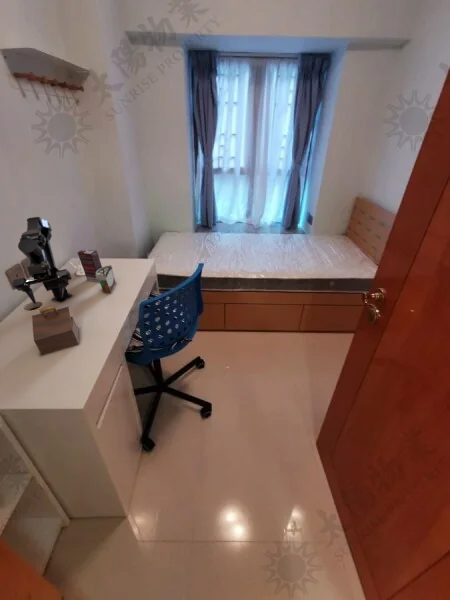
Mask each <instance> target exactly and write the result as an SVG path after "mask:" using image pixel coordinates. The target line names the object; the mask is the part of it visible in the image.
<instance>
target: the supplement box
mask: <svg viewBox="0 0 450 600" xmlns="http://www.w3.org/2000/svg"><path fill="white" fill-rule="evenodd" d="M76 253H77V256H79V257H78V260H79V259H80V261H81V264H82V267H83V269H84V272H85V275H84V276H85V277H86V280H87V281H91V282H97V283H100V282H99V280H98V279H97V278H96V271H97V270H98V269H100V268H102V267H103V266H102V262H101V260H100V259H101V258H100V256H99V253H98V249H97V250H96V249H86V248H83V249H81V250H79V251H77V252H76Z"/></svg>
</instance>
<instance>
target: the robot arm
mask: <svg viewBox="0 0 450 600" xmlns="http://www.w3.org/2000/svg"><path fill="white" fill-rule="evenodd" d="M26 222H27V223H26V226H27V227H26V230H25V231H24V232H22V233H21V235H20V238H19V242H18V244H17V248H18V250H19V251H20V252H21V253H22V254H23V255H25V257H26V258H28V261H29V266H27V267H26V269H27V272H28V274H29V276H30V277H31V279H26V278H25V277H20V278H15V279H13V280H12V282H11V284H12V287H13V288H14V289H15V290H17V291H18V292H20V291H21V292H23V293H26V295H27V296H28V298H29V299H30V301H31V302H32V303H33V304H34V305H36V304H37V301H36V298H35V295H34V292H33V289H32V288H31V286H33V285H37V284H41V283H42V285H43V287H44V289H45V290H46V292H49V291H51V293H52V296H53V297H52V298H51V301H55V302H58V303H63V302H65V301H66V300H68V299H69V298H71V297H72V296H73V294H72V293H69V292H68V289H67V287H68V286H69V285H70V284H69V282H70V281H71V280H72V275H71V273H70V271H69V269H68V268H67V269H66V268H64V269H58V268H57V265H56V262H55V258H54V254H53V250H52V246H51V242H50V240H51V239H52V237H53V234H52V231H53V228H52V225H51V224H50V222H49V221H48V220H46V219H43V218H42V217H40V216H32V217H28V218H27V219H26Z"/></svg>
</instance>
